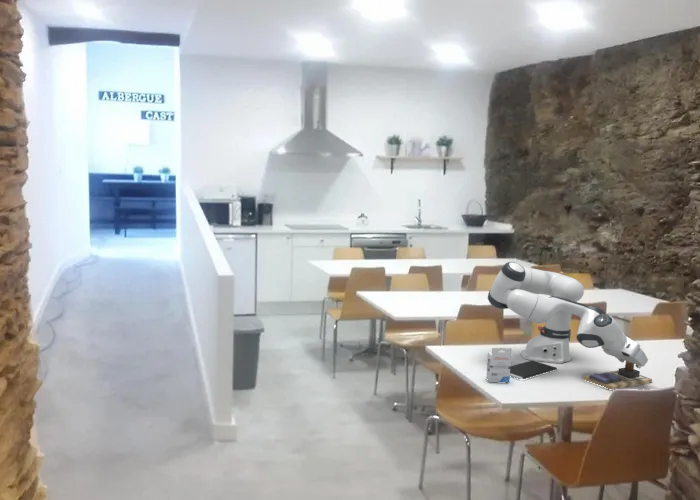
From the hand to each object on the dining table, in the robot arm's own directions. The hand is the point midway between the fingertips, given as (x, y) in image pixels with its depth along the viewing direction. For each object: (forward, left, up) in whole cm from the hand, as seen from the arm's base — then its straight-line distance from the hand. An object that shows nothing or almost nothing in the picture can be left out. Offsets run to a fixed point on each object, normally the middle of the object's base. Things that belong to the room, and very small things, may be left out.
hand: (631, 363), depth 296 cm
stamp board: (-7, -4, -7) cm, 10 cm away
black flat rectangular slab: (-43, +4, -7) cm, 43 cm away
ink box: (-59, -12, -7) cm, 60 cm away
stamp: (-1, 0, -5) cm, 5 cm away
